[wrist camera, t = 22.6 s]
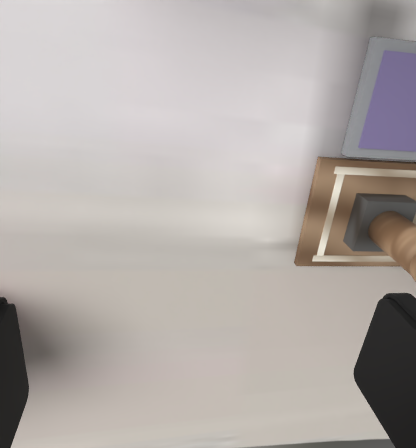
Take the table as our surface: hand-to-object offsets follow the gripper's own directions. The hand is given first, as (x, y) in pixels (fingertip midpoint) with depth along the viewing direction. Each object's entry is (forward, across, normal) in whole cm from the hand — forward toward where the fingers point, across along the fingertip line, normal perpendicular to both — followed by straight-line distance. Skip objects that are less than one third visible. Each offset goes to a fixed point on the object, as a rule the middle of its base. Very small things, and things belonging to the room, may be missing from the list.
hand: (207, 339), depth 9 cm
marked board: (+28, -24, +8) cm, 38 cm away
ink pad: (+28, -24, -4) cm, 37 cm away
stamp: (+28, -24, +9) cm, 37 cm away
